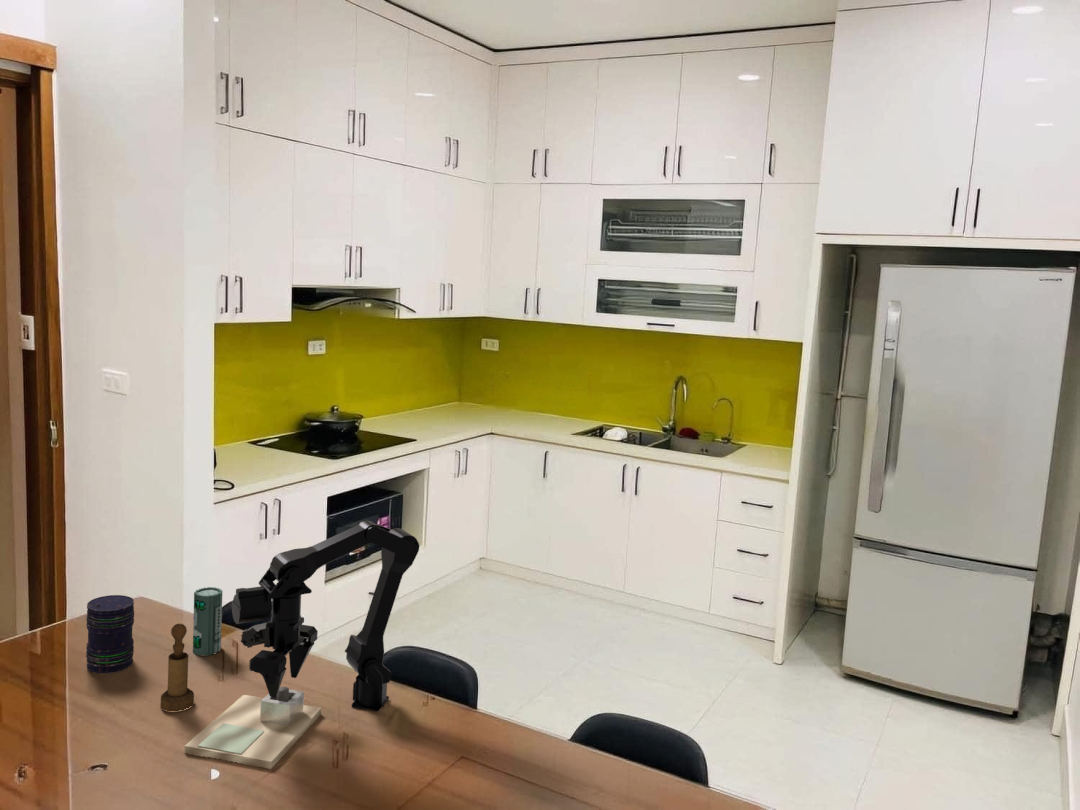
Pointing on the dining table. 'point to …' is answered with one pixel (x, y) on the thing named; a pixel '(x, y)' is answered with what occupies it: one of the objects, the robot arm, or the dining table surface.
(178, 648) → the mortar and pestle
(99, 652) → the storage jar
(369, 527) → the robot arm
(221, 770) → the dining table surface
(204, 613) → the can
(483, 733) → the dining table surface
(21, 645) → the dining table surface
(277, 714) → the collar
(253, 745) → the board
